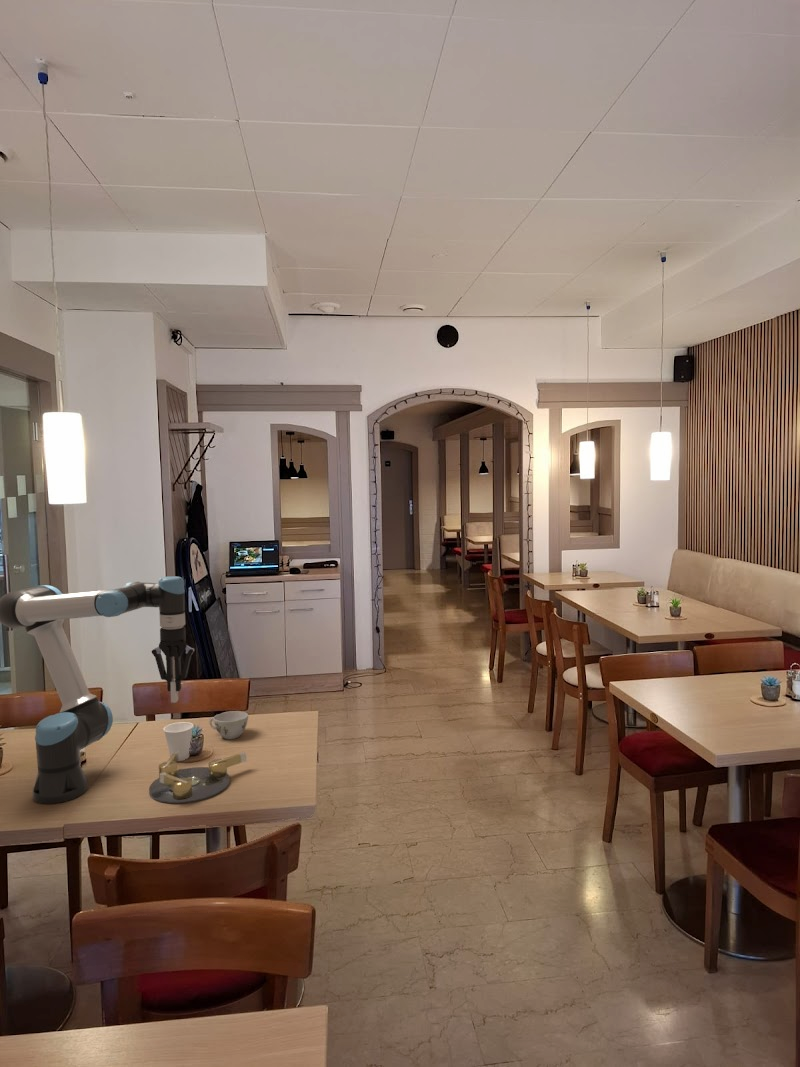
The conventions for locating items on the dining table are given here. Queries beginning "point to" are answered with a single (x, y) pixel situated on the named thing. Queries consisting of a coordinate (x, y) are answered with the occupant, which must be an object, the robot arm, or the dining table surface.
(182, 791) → the knob front
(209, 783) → the plate
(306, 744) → the dining table surface
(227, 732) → the teacup
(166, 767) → the knob left
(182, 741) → the cup
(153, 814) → the dining table surface
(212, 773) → the knob right
